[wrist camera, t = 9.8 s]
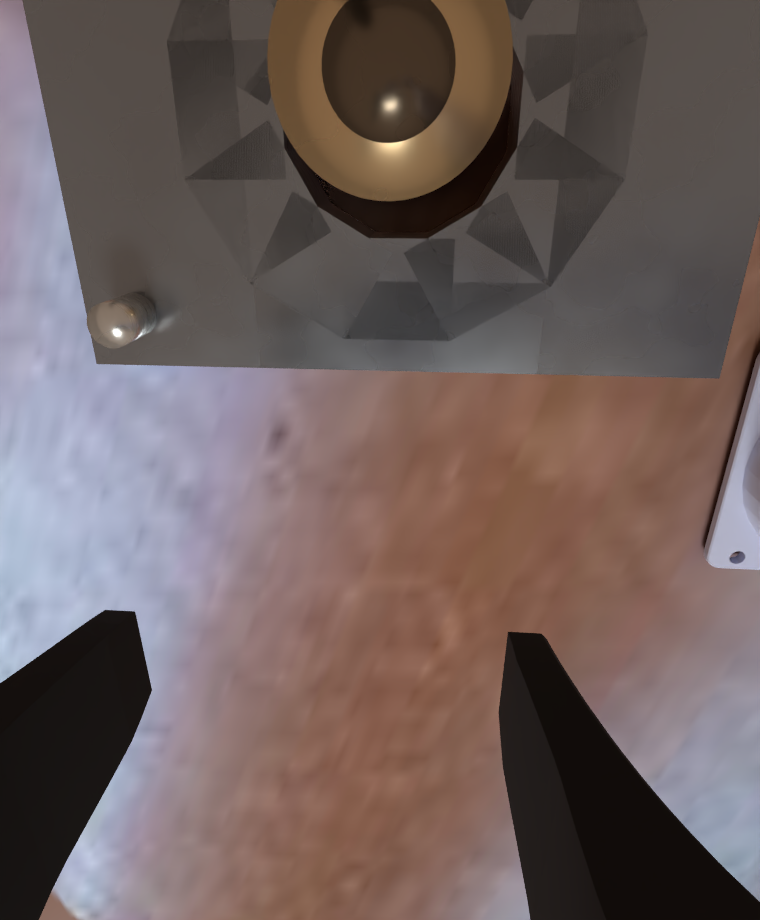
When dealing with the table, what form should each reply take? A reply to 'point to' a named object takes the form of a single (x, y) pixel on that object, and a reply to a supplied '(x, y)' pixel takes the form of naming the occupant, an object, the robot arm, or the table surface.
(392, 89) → the bushing
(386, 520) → the table surface
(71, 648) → the robot arm
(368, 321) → the jig
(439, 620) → the table surface
